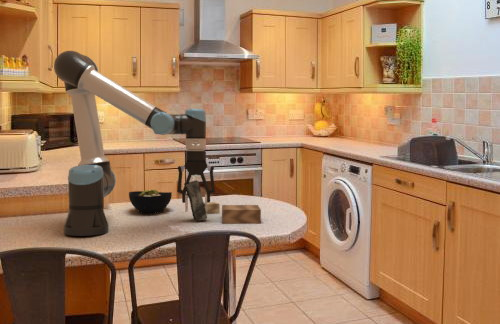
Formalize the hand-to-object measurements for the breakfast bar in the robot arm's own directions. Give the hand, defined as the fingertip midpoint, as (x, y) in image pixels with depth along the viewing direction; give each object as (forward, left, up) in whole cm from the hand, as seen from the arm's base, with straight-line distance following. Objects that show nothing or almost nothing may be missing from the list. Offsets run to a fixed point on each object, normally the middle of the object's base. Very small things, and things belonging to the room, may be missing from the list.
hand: (196, 211), depth 205 cm
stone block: (0, 0, -4) cm, 4 cm away
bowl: (-19, +18, -4) cm, 27 cm away
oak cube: (+6, +14, -4) cm, 16 cm away
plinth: (+17, 0, -4) cm, 17 cm away
